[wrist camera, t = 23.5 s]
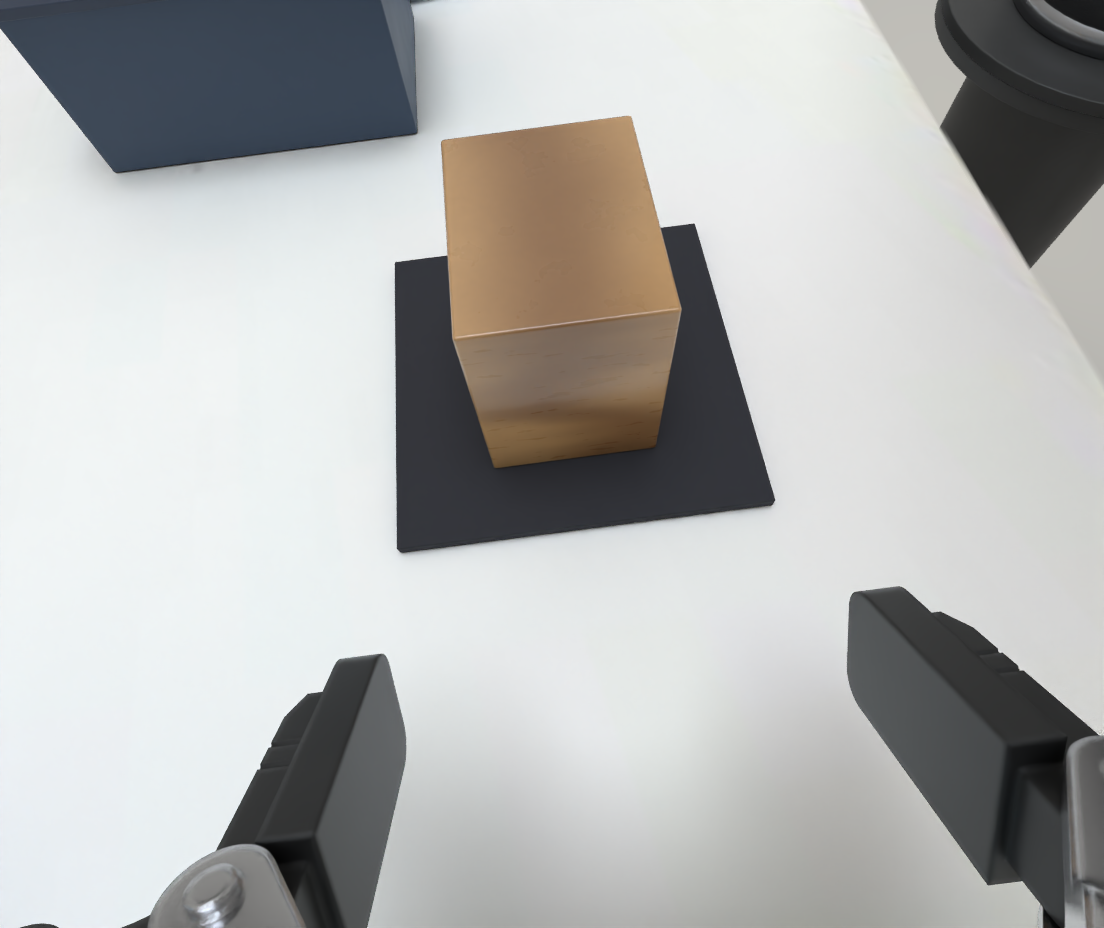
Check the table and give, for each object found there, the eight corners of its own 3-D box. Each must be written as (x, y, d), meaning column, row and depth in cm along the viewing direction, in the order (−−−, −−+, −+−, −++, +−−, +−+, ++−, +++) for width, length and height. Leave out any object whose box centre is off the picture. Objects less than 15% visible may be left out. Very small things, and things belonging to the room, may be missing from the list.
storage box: (417, 16, 33) (376, -161, 27) (422, 136, 29) (374, -40, 23) (143, 51, 33) (39, -117, 27) (109, 176, 29) (-24, 13, 23)
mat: (693, 230, 26) (694, 223, 25) (772, 505, 20) (775, 500, 20) (397, 269, 26) (394, 261, 25) (400, 553, 20) (396, 549, 20)
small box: (621, 285, 24) (631, 113, 18) (656, 448, 21) (682, 310, 15) (480, 303, 24) (440, 138, 18) (494, 469, 21) (451, 340, 15)
